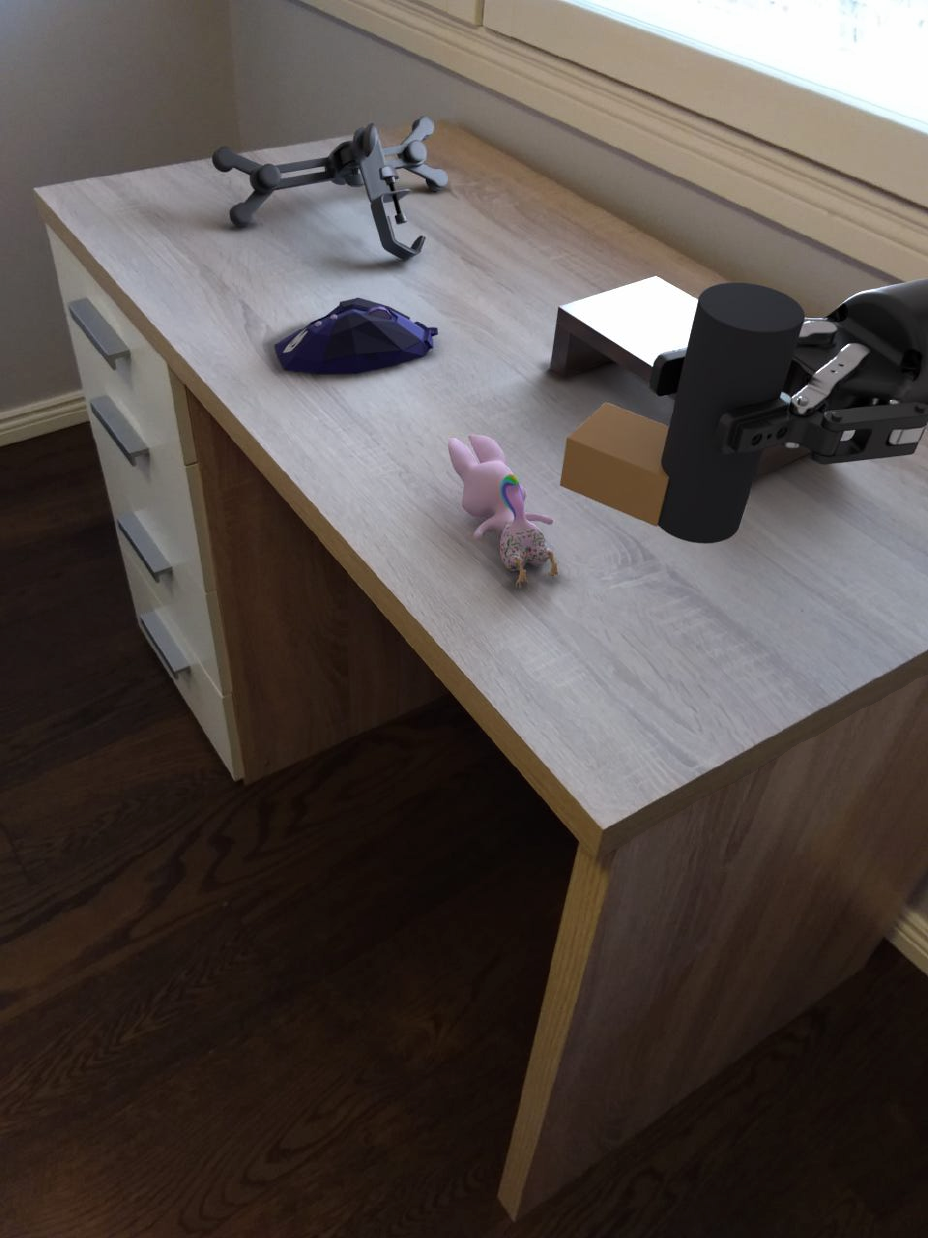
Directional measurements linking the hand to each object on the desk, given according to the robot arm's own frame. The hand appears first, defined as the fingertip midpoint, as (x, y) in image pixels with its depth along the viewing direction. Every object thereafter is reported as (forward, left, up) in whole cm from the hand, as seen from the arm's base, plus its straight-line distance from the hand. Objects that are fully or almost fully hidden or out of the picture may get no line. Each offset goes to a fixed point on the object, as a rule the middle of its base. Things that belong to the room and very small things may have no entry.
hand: (688, 404), depth 52 cm
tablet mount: (+64, -22, -20) cm, 71 cm away
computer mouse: (+43, -7, -20) cm, 48 cm away
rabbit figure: (+16, -2, -20) cm, 26 cm away
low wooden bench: (+20, -26, -20) cm, 39 cm away
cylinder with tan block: (+2, -2, -8) cm, 8 cm away
